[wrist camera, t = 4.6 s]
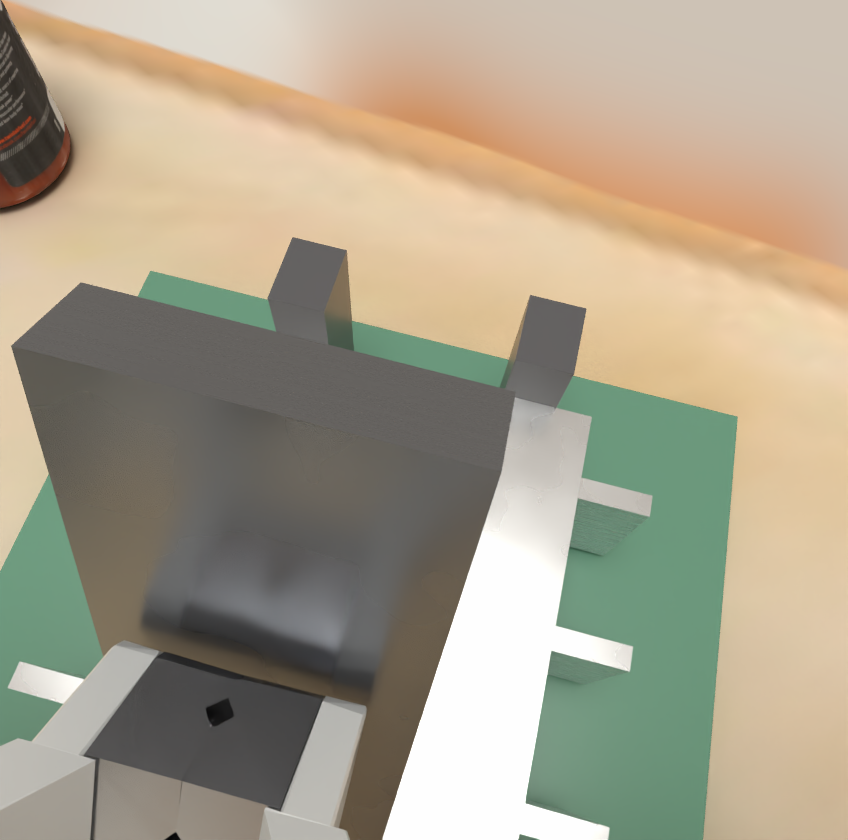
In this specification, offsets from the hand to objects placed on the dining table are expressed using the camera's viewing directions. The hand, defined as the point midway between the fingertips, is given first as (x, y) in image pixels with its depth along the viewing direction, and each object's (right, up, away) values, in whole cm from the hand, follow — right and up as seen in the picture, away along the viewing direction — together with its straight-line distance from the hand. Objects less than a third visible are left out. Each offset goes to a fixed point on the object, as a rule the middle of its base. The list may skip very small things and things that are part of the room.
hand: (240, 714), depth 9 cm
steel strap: (0, 0, +2) cm, 2 cm away
